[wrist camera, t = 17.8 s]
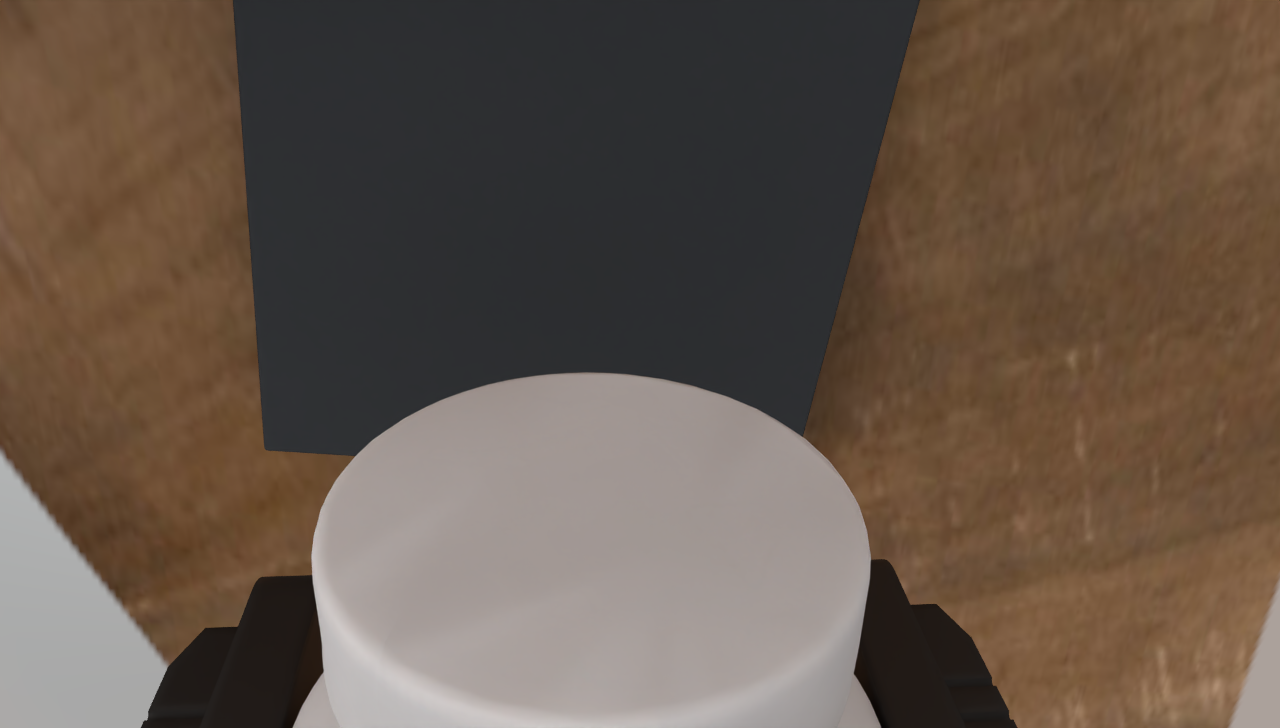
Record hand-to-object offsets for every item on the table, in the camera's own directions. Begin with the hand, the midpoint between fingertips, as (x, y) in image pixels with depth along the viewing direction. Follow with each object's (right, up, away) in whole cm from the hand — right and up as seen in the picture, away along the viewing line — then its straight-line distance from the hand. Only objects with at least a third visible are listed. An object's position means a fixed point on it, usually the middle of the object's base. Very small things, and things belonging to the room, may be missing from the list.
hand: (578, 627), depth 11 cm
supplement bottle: (0, -7, +1) cm, 7 cm away
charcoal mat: (-1, +7, +12) cm, 14 cm away
